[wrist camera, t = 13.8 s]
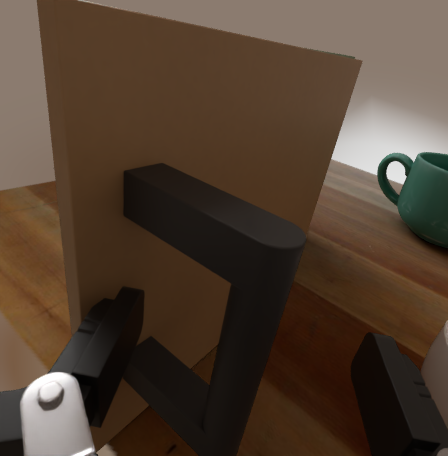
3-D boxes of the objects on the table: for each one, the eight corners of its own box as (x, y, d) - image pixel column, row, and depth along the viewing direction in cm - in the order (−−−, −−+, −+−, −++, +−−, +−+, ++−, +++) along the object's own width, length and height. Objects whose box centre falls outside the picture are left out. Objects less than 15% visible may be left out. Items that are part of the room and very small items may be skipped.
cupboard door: (352, 311, 28) (461, 77, 19) (178, 567, 13) (306, 26, 4) (285, 273, 31) (351, 58, 22) (82, 444, 16) (34, -9, 7)
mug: (497, 243, 45) (540, 179, 40) (483, 276, 37) (535, 199, 32) (380, 196, 54) (404, 140, 50) (347, 214, 46) (372, 148, 41)
